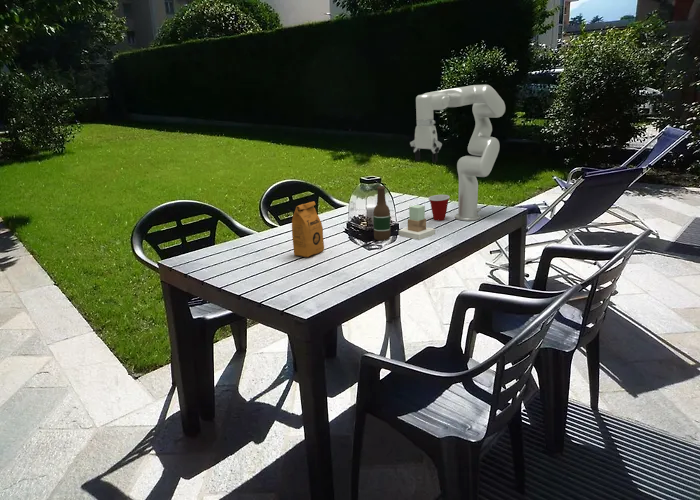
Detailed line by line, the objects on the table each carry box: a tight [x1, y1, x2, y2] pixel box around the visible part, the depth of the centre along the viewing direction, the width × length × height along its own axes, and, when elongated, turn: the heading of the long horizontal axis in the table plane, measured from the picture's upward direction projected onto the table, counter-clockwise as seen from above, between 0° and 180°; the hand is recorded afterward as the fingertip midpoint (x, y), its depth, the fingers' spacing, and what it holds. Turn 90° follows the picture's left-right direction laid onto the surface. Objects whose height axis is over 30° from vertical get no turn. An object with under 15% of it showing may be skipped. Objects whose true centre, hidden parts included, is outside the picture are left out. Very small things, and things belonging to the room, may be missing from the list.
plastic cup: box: [427, 194, 450, 222], centre depth 259 cm, size 11×11×12 cm
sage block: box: [408, 204, 426, 221], centre depth 233 cm, size 5×5×6 cm
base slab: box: [398, 226, 436, 241], centre depth 236 cm, size 12×12×2 cm
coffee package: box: [291, 201, 325, 258], centre depth 212 cm, size 10×12×22 cm
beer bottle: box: [372, 185, 391, 241], centre depth 229 cm, size 8×8×24 cm
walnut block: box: [407, 218, 427, 232], centre depth 234 cm, size 6×6×5 cm
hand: (426, 161), depth 234 cm, fingers open, 9 cm apart
